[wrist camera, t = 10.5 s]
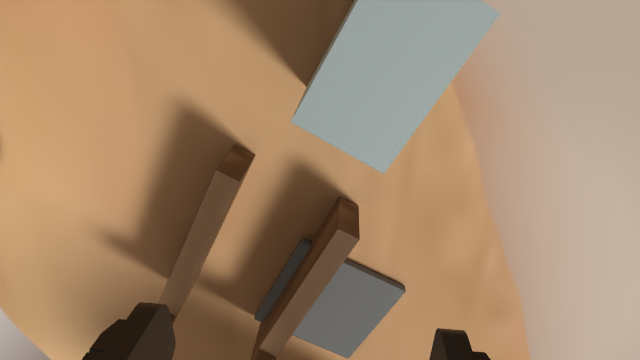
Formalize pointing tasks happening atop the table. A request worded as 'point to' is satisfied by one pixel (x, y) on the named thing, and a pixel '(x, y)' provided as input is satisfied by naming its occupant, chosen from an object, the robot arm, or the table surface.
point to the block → (388, 72)
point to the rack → (305, 281)
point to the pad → (339, 304)
